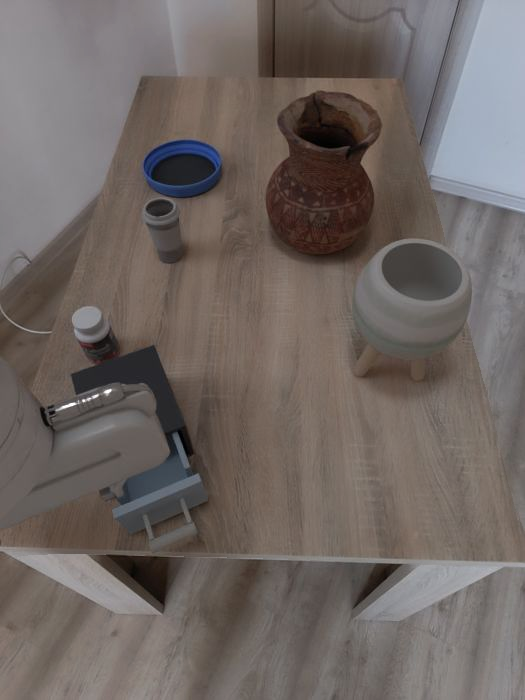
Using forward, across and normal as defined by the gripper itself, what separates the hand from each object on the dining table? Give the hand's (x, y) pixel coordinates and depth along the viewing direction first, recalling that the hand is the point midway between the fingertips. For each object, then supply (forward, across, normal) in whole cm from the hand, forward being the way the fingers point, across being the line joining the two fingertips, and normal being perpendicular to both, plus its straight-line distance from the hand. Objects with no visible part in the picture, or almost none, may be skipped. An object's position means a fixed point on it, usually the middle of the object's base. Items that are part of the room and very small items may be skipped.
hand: (53, 514), depth 37 cm
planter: (+31, -48, -16) cm, 59 cm away
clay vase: (+31, -52, -50) cm, 79 cm away
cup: (+31, -22, -56) cm, 68 cm away
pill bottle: (+31, -4, -38) cm, 49 cm away
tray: (+30, -6, -10) cm, 32 cm away
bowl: (+31, -33, -80) cm, 92 cm away
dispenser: (+31, -6, -21) cm, 38 cm away
